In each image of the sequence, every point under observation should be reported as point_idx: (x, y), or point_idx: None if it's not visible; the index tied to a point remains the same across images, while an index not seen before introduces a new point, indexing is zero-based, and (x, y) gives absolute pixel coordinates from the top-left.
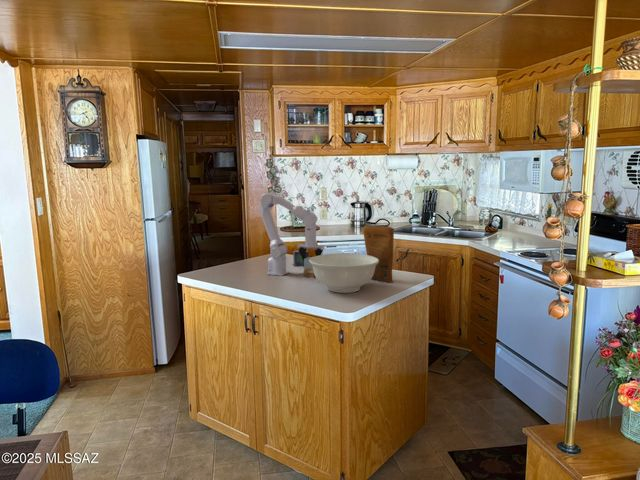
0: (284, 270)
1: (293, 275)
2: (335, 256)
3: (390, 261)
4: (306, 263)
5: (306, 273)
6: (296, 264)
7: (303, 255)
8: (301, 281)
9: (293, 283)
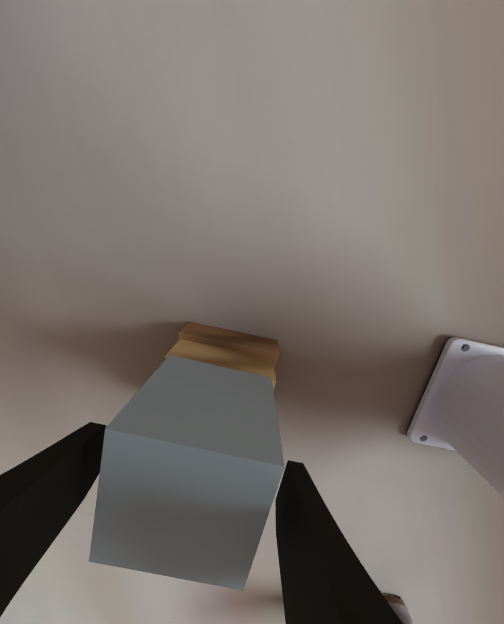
0: (461, 399)
1: (358, 365)
2: None
3: None
4: (238, 403)
5: (244, 344)
6: None
7: (318, 579)
8: (248, 170)
9: (303, 69)
